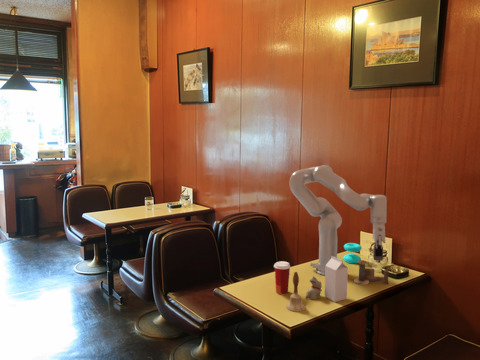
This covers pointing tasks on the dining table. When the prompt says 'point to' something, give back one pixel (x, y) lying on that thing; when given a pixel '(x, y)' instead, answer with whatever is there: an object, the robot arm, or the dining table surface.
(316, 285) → the chocolate bunny
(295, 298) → the hand bell
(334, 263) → the milk carton
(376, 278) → the notch board
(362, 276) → the bobbin
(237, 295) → the dining table surface
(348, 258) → the donuts
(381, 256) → the dark upright block
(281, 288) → the paper cup
